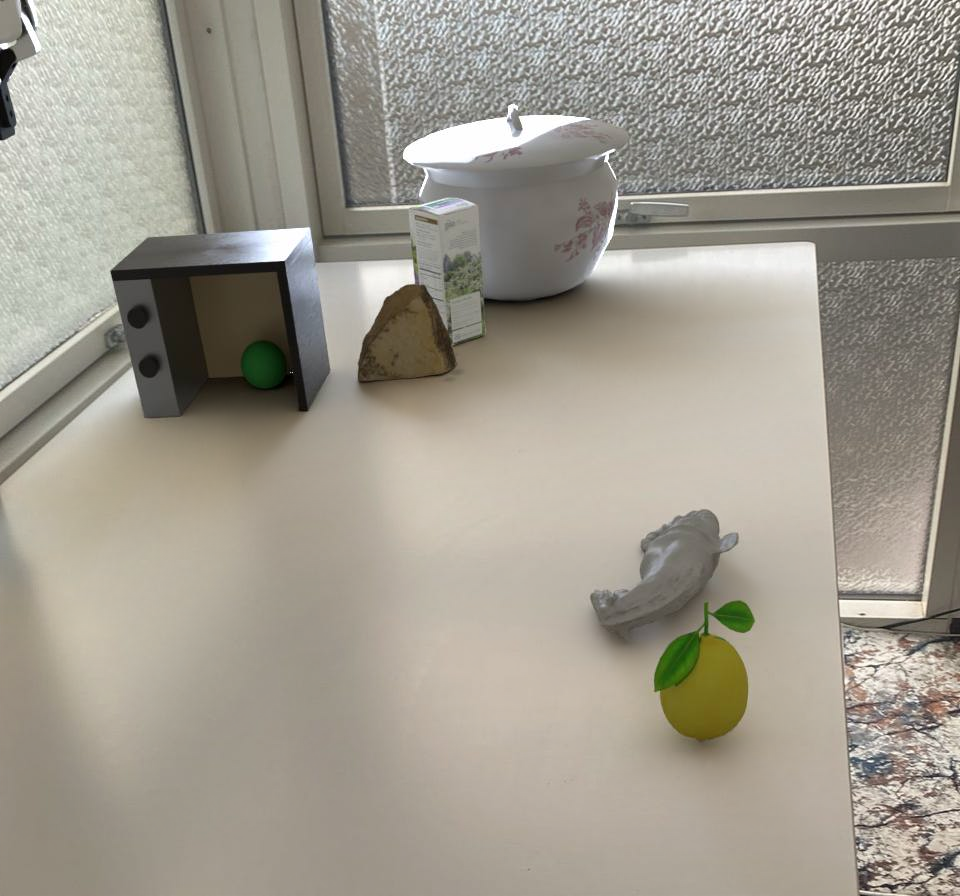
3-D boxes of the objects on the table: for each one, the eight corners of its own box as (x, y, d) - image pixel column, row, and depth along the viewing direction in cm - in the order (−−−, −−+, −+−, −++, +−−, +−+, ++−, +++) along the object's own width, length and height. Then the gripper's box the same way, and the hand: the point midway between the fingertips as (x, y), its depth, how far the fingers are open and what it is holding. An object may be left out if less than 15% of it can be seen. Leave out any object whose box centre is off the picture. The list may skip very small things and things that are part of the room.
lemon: (749, 711, 88) (757, 574, 82) (761, 761, 84) (770, 619, 78) (648, 716, 89) (648, 580, 83) (654, 766, 84) (654, 625, 78)
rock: (334, 370, 143) (417, 361, 139) (338, 290, 143) (421, 279, 139) (382, 402, 153) (461, 394, 149) (386, 327, 153) (465, 318, 149)
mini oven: (141, 421, 142) (106, 273, 133) (177, 376, 153) (147, 237, 144) (306, 414, 140) (282, 263, 131) (330, 369, 151) (310, 227, 142)
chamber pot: (520, 333, 156) (508, 136, 143) (373, 296, 173) (352, 116, 160) (678, 274, 170) (680, 90, 157) (528, 245, 187) (519, 76, 174)
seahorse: (591, 522, 111) (572, 603, 94) (725, 471, 107) (730, 546, 90) (613, 578, 113) (598, 667, 96) (745, 530, 110) (754, 614, 92)
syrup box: (456, 326, 160) (445, 195, 151) (488, 336, 156) (478, 201, 147) (419, 339, 157) (405, 205, 148) (450, 348, 153) (438, 212, 145)
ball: (238, 330, 145) (252, 357, 150) (231, 370, 144) (245, 397, 148) (282, 331, 144) (295, 358, 149) (275, 372, 143) (288, 398, 148)
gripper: (39, -130, 108) (95, 124, 119) (-134, -114, 110) (-62, 135, 121) (4, -126, 102) (67, 141, 113) (-178, -109, 104) (-98, 152, 115)
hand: (0, 137), depth 117 cm, fingers closed
